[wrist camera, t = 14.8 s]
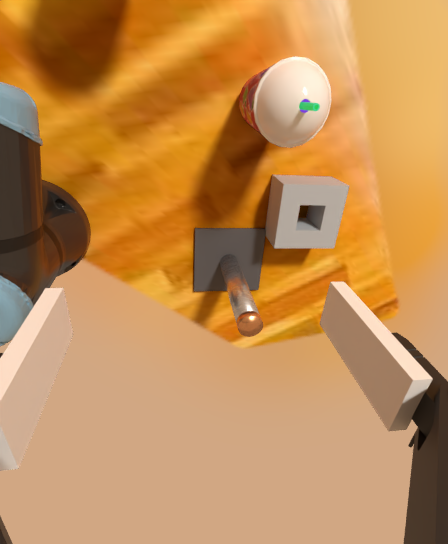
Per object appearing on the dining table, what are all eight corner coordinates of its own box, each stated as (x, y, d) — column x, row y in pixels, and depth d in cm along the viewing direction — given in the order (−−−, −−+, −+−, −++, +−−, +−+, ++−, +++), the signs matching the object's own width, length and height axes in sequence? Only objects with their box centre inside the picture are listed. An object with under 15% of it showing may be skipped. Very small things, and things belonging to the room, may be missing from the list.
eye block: (264, 233, 55) (274, 248, 50) (272, 174, 50) (283, 184, 45) (319, 234, 57) (333, 248, 52) (331, 176, 52) (349, 185, 47)
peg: (219, 255, 55) (237, 318, 40) (237, 253, 56) (262, 314, 40) (220, 271, 57) (238, 338, 41) (238, 269, 57) (263, 334, 42)
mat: (193, 289, 59) (194, 291, 58) (194, 228, 53) (195, 229, 52) (257, 288, 61) (258, 289, 60) (265, 228, 55) (266, 229, 54)
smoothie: (284, 135, 48) (348, 159, 31) (229, 132, 47) (264, 155, 29) (294, 69, 44) (374, 54, 27) (234, 63, 43) (277, 44, 25)
